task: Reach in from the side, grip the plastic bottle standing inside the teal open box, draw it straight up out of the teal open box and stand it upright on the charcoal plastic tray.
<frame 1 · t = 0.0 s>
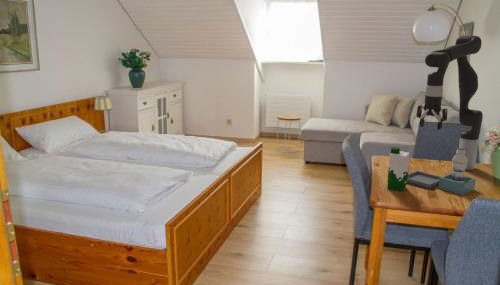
hand: (430, 128, 209), 29 cm above the table, tool pointing down, fingers open, 8 cm apart
plastic bottle: (456, 189, 211), resting in teal open box
milk carton: (396, 188, 211), on the table
tray: (422, 181, 221), on the table
teal open box: (456, 188, 210), on the table
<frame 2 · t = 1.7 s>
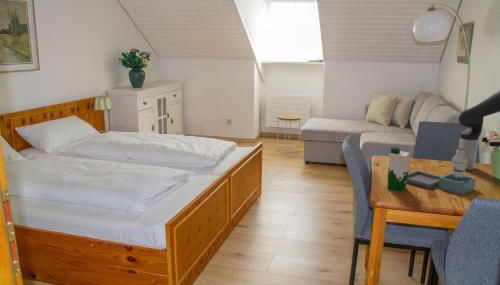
hand: (485, 141, 204), 24 cm above the table, tool horizontal, fingers open, 8 cm apart
nothing on the table moved.
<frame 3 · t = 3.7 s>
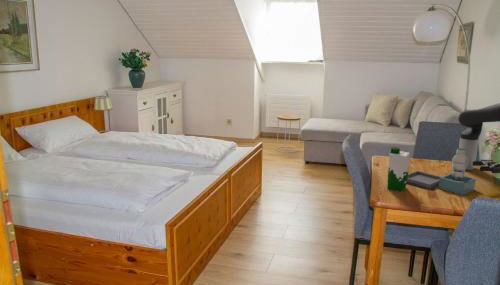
hand: (476, 165, 207), 12 cm above the table, tool horizontal, fingers open, 8 cm apart
nothing on the table moved.
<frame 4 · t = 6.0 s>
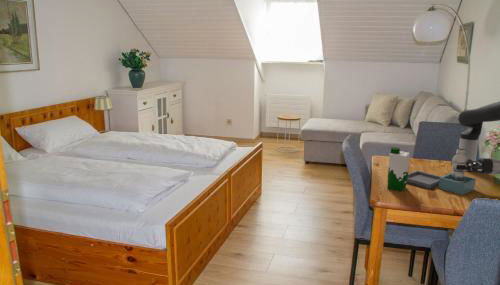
hand: (454, 165, 208), 12 cm above the table, tool horizontal, fingers closed on plastic bottle, 6 cm apart
plastic bottle: (456, 189, 211), resting in teal open box, touching gripper
everything else where it was.
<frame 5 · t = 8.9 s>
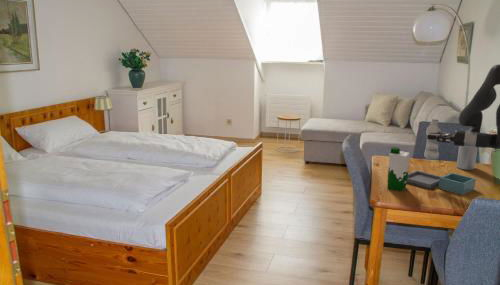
hand: (427, 135, 213), 25 cm above the table, tool horizontal, fingers closed on plastic bottle, 6 cm apart
plastic bottle: (430, 159, 215), point 12 cm above the table, touching gripper
everything else where it was.
when the fingers open (14 cm above the table, at t = 11.7 s): plastic bottle drops 1 cm, resting on tray.
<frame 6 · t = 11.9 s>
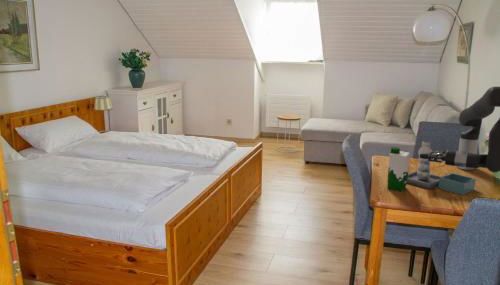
hand: (421, 154, 218), 14 cm above the table, tool horizontal, fingers open, 8 cm apart
plastic bottle: (423, 180, 220), point 1 cm above the table, touching tray
everything else where it was.
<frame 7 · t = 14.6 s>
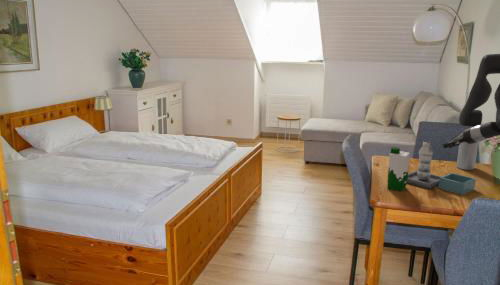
hand: (448, 143, 218), 20 cm above the table, tool tilted 60°, fingers open, 8 cm apart
nothing on the table moved.
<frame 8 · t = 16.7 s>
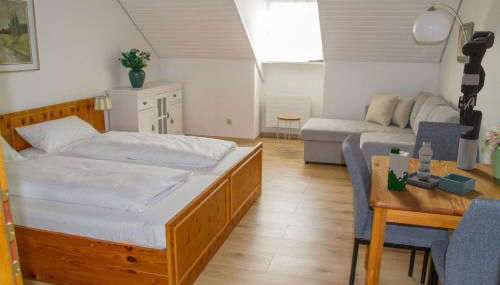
hand: (465, 116, 213), 34 cm above the table, tool pointing down, fingers open, 8 cm apart
nothing on the table moved.
at the end: plastic bottle inside the target area on the tray (0.1 cm from its centre), point 0.8 cm above the tray's base; plastic bottle tilted 0°; the gripper is holding nothing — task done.
